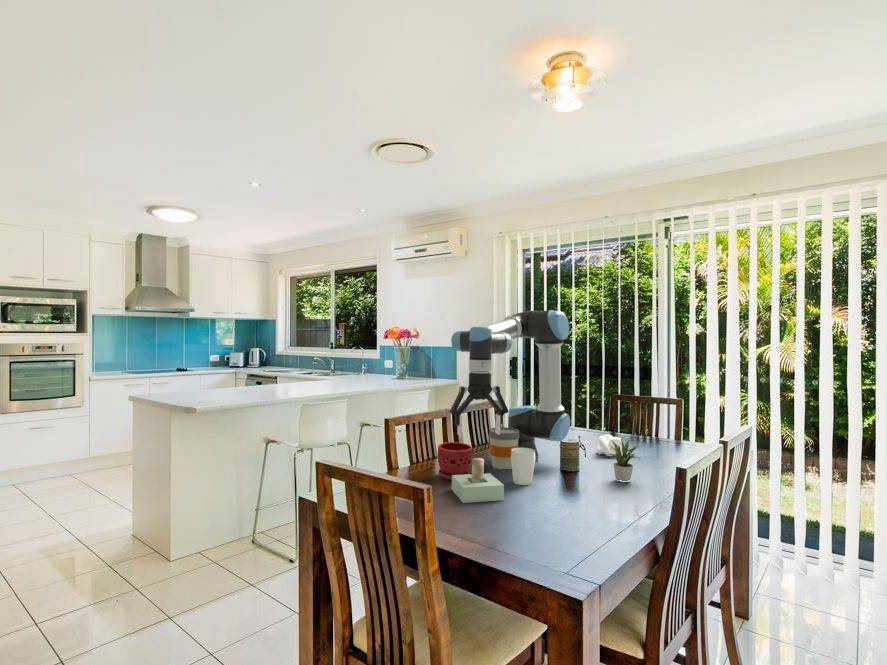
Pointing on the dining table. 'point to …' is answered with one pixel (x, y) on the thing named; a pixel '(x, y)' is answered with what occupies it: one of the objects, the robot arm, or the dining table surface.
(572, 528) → the dining table surface
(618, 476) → the house plant
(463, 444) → the plant pot
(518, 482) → the cup
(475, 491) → the socket block
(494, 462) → the reusable coffee cup
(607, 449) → the crumpled white lump
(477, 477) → the peg
